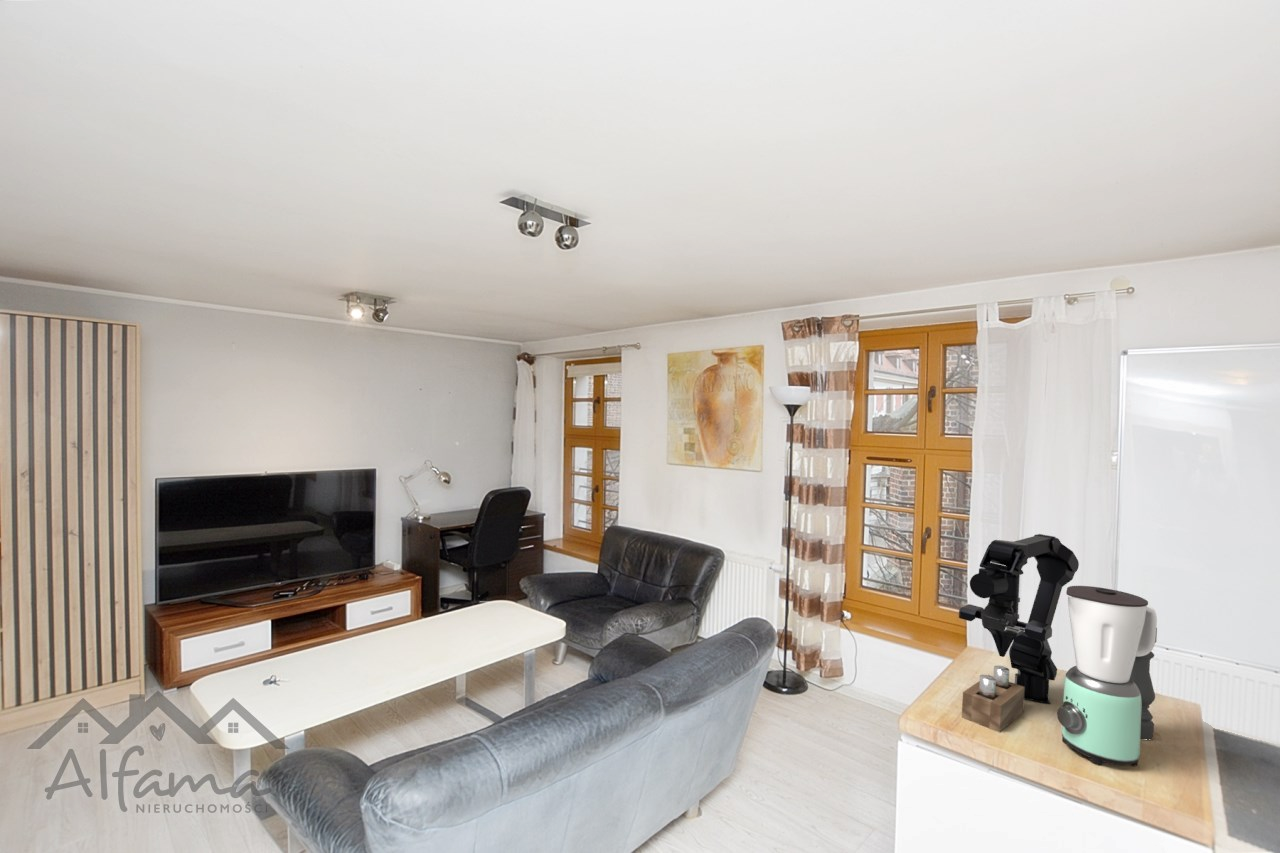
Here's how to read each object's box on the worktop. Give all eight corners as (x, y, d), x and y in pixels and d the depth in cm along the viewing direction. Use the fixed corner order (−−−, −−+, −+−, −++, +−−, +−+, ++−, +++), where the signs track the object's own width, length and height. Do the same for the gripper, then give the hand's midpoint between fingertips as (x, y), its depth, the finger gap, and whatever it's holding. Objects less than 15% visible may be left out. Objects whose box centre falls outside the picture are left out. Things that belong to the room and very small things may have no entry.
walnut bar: (1023, 711, 139) (1024, 686, 139) (999, 732, 129) (1000, 705, 129) (987, 698, 145) (988, 674, 145) (961, 717, 135) (962, 692, 135)
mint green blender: (1088, 771, 115) (1096, 599, 115) (1037, 735, 128) (1044, 580, 128) (1176, 771, 116) (1184, 601, 116) (1117, 735, 130) (1124, 582, 129)
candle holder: (1144, 729, 133) (1149, 622, 133) (1159, 742, 127) (1164, 631, 127) (1112, 723, 135) (1117, 618, 135) (1125, 736, 129) (1130, 627, 129)
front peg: (993, 699, 135) (994, 676, 135) (995, 705, 132) (996, 682, 132) (978, 696, 136) (979, 673, 136) (979, 702, 133) (981, 679, 133)
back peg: (1007, 689, 141) (1008, 667, 141) (1009, 694, 138) (1010, 672, 138) (992, 686, 142) (993, 664, 142) (994, 691, 139) (995, 669, 139)
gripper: (950, 588, 142) (948, 650, 142) (1038, 609, 127) (1035, 678, 128) (969, 581, 149) (966, 641, 149) (1054, 601, 134) (1051, 666, 135)
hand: (1002, 656), depth 140 cm, fingers closed
